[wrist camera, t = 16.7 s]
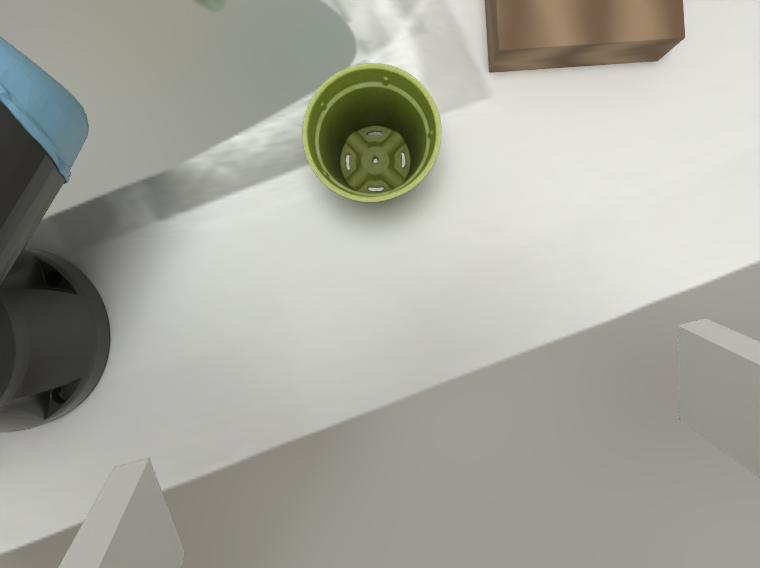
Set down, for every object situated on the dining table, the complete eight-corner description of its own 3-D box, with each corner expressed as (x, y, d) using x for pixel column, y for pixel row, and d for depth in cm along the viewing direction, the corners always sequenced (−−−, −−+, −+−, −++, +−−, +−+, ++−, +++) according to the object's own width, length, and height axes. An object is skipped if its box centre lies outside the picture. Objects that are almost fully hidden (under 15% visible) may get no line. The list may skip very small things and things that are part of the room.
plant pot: (434, 214, 43) (445, 197, 34) (323, 221, 43) (306, 205, 34) (428, 104, 43) (437, 58, 34) (316, 111, 43) (298, 67, 34)
